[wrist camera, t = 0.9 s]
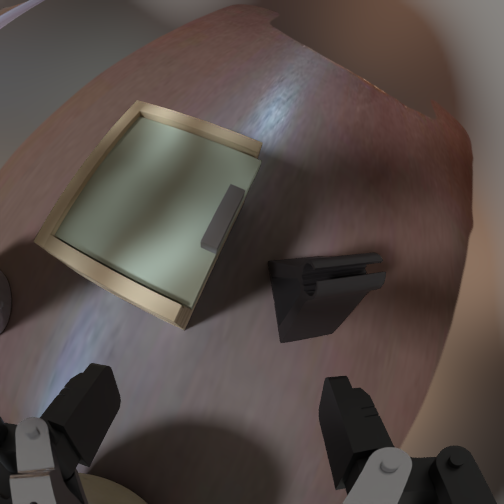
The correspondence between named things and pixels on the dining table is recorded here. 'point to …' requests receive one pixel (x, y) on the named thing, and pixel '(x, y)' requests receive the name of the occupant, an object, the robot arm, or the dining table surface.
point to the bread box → (153, 208)
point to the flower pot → (107, 491)
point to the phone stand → (319, 292)
